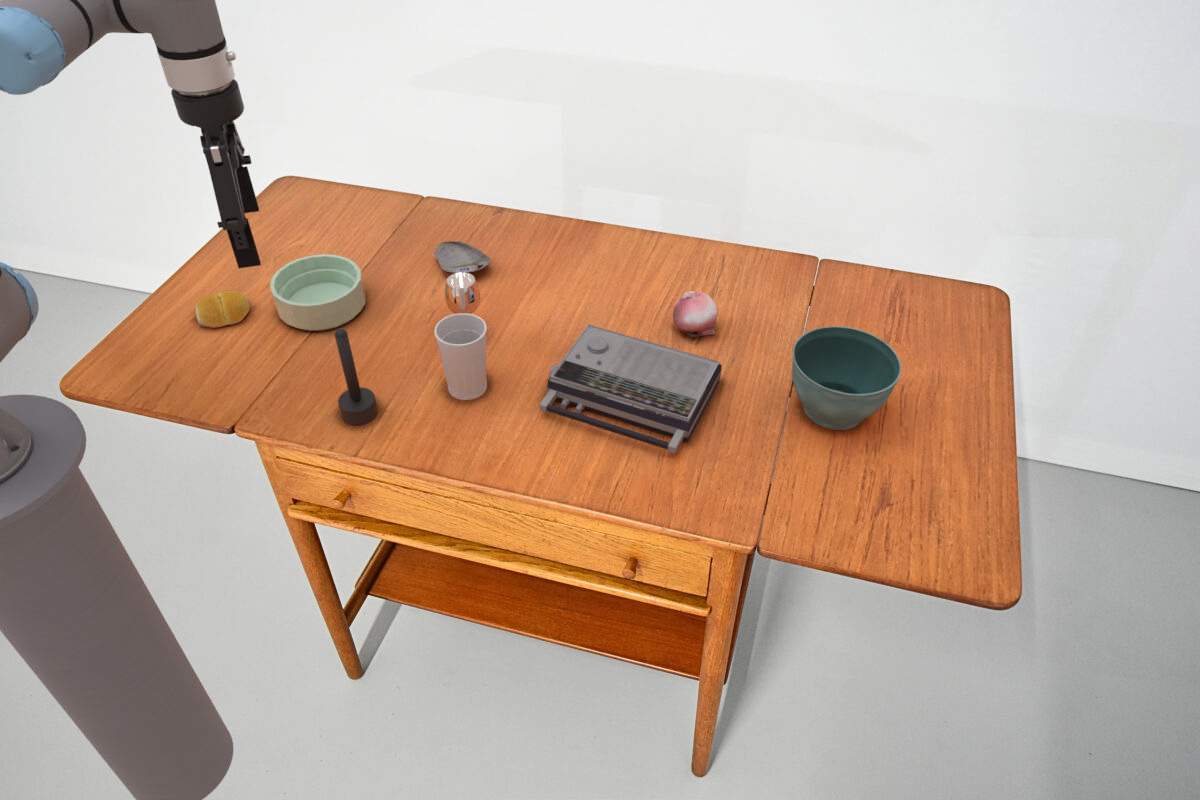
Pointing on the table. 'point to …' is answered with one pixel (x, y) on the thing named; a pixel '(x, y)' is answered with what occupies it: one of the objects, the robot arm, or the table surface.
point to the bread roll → (221, 309)
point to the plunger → (353, 388)
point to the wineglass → (462, 293)
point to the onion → (695, 314)
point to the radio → (632, 386)
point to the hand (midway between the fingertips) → (249, 237)
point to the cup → (463, 354)
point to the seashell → (460, 257)
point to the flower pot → (843, 375)
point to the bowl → (318, 292)
